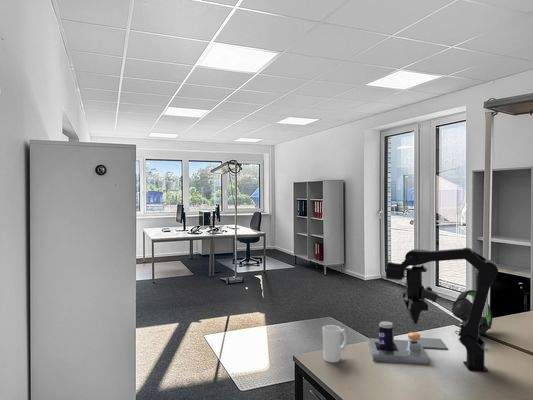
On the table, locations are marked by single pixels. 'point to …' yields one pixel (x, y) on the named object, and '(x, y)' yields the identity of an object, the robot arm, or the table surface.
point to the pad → (432, 343)
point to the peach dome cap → (414, 336)
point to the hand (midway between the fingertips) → (414, 321)
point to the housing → (399, 352)
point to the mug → (333, 343)
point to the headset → (463, 310)
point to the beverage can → (386, 336)
